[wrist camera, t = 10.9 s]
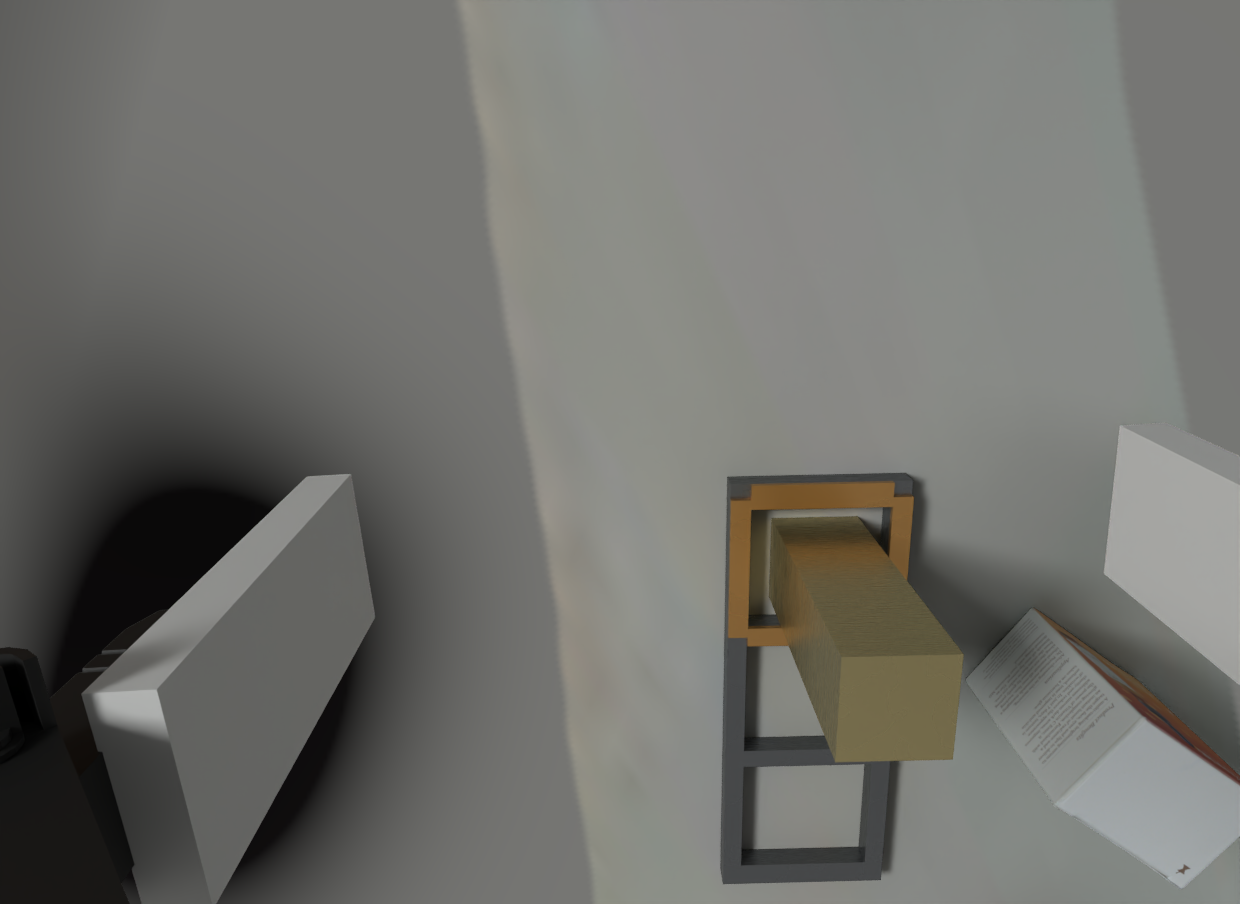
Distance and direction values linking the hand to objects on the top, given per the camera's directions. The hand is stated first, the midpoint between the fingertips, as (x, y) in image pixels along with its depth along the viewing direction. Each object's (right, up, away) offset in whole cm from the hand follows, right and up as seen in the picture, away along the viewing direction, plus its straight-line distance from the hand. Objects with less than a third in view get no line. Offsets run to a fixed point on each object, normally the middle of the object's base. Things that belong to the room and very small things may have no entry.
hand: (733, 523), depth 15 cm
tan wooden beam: (+8, -4, +30) cm, 32 cm away
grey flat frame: (+8, -11, +33) cm, 35 cm away
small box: (+21, -11, +33) cm, 41 cm away
